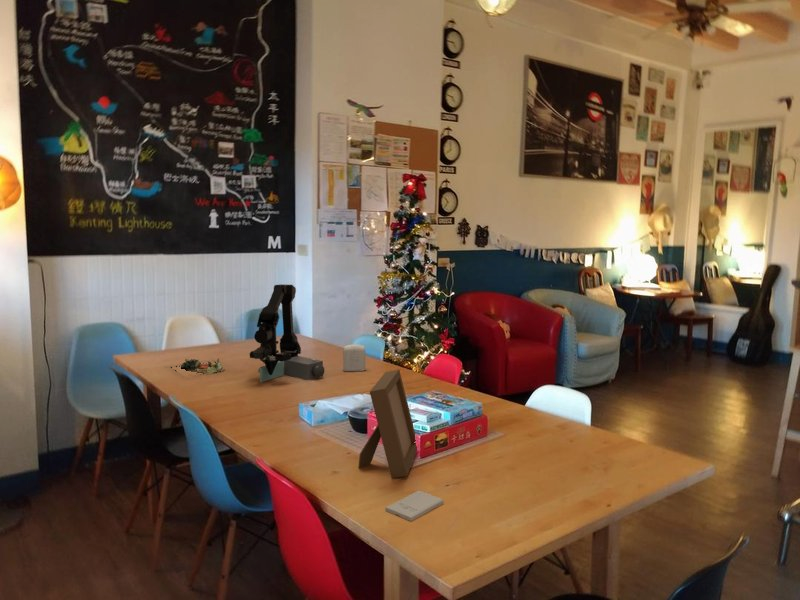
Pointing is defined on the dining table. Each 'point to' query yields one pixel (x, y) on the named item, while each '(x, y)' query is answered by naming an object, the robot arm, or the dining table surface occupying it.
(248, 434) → the dining table surface
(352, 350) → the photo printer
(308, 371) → the large grey box
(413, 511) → the external hard drive
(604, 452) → the dining table surface
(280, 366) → the grey-green bar
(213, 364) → the plated dish
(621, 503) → the dining table surface
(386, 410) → the photo frame
